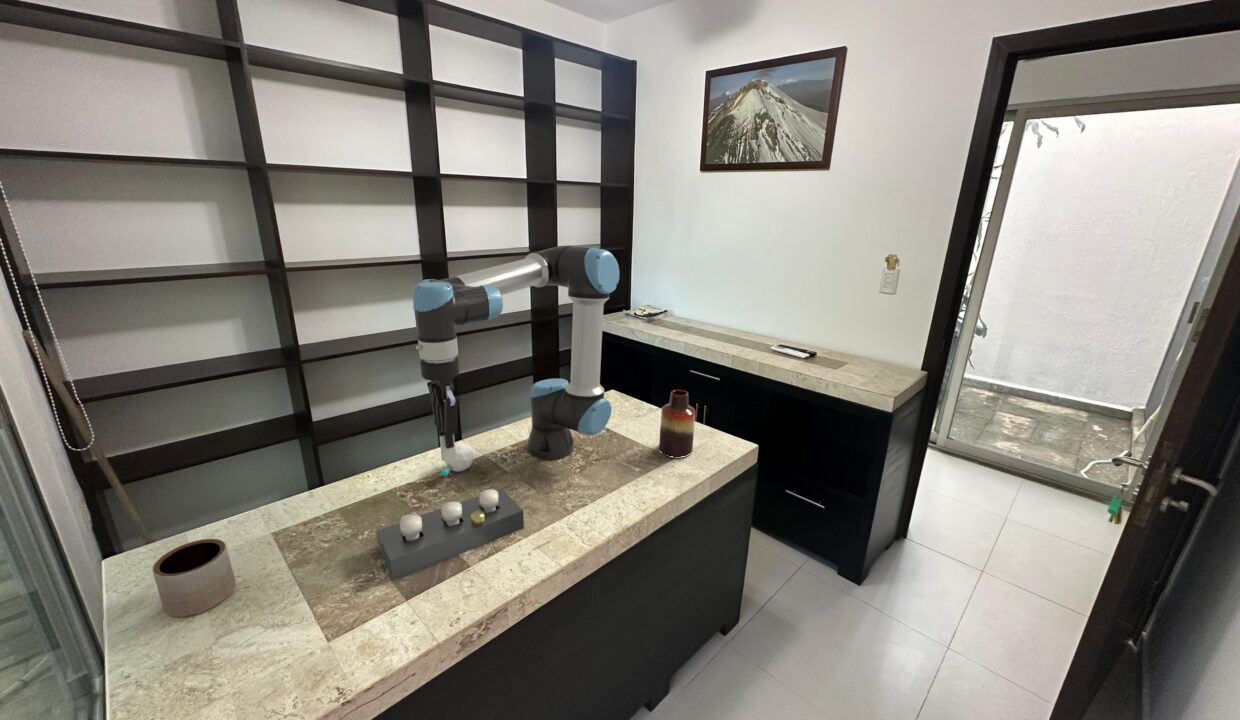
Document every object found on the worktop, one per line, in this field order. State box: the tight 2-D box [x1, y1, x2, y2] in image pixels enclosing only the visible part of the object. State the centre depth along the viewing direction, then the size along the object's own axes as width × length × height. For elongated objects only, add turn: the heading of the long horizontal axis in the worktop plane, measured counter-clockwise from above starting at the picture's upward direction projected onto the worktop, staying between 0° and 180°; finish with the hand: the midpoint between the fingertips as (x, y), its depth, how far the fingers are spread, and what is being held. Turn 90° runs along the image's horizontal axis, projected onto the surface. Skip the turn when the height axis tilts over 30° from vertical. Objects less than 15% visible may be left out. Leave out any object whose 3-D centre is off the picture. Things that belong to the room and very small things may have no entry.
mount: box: [376, 488, 525, 581], centre depth 114 cm, size 30×12×5 cm, turn 128°
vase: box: [658, 389, 696, 457], centre depth 157 cm, size 11×11×20 cm
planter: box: [152, 538, 236, 618], centre depth 94 cm, size 11×11×10 cm
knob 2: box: [478, 489, 499, 514], centre depth 119 cm, size 4×4×8 cm
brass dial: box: [471, 511, 485, 526], centre depth 112 cm, size 3×3×2 cm
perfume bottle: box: [441, 443, 474, 477], centre depth 142 cm, size 8×8×12 cm
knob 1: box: [399, 514, 422, 542], centre depth 108 cm, size 4×4×8 cm
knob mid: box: [440, 501, 462, 527], centre depth 113 cm, size 4×4×8 cm
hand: (449, 458), depth 109 cm, fingers closed
